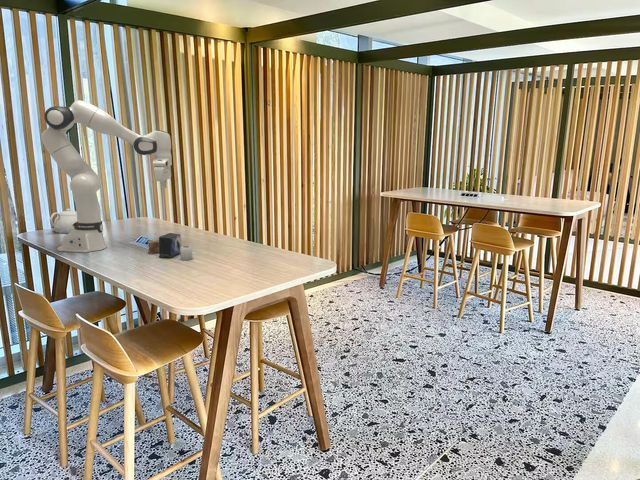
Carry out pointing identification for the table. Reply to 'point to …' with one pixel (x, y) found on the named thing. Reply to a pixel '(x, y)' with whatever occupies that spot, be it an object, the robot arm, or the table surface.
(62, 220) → the teapot
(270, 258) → the table surface
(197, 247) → the table surface
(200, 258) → the table surface
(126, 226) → the table surface
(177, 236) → the small box
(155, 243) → the walnut cube
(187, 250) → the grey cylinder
